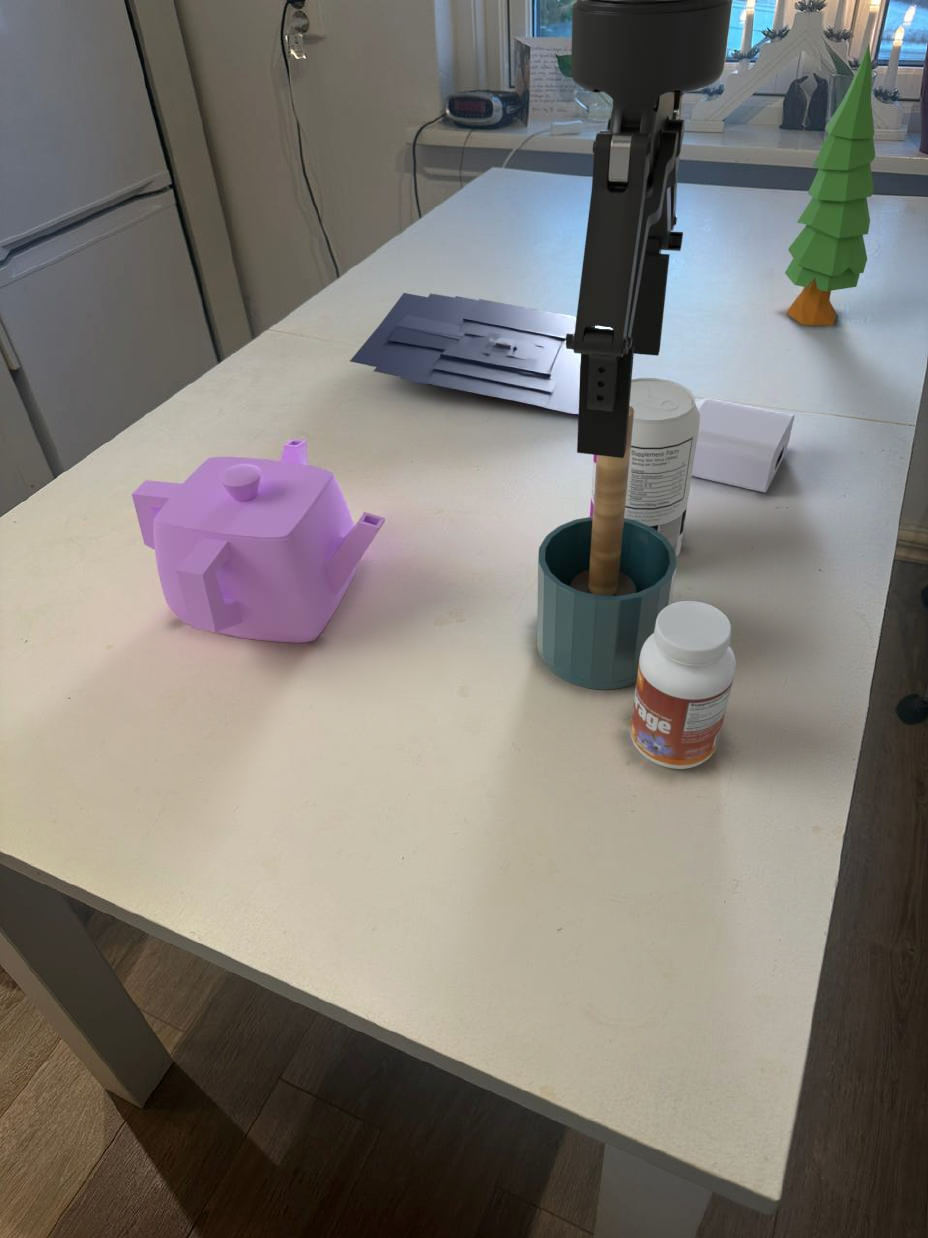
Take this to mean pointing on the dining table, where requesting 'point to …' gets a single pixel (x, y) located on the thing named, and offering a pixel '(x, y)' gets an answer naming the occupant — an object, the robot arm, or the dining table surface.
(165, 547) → the teakettle
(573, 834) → the dining table surface
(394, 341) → the dark blue flat slab
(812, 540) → the dining table surface
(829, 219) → the decorative tree
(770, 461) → the charger
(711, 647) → the pill bottle
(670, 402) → the supplement can
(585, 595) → the jar
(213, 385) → the dining table surface
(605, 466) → the brush
